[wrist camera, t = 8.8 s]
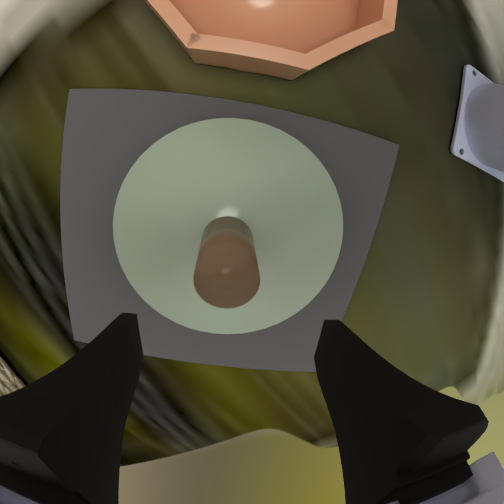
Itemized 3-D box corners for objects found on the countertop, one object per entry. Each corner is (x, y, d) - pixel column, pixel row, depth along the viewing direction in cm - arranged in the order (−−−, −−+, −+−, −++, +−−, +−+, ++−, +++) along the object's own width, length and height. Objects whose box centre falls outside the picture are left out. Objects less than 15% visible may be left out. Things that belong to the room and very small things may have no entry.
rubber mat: (395, 144, 18) (399, 144, 18) (317, 367, 26) (319, 371, 26) (73, 89, 15) (69, 89, 15) (76, 335, 23) (74, 339, 22)
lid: (353, 129, 17) (397, 136, 12) (321, 327, 23) (341, 378, 18) (109, 122, 16) (65, 126, 11) (131, 325, 22) (112, 376, 17)
